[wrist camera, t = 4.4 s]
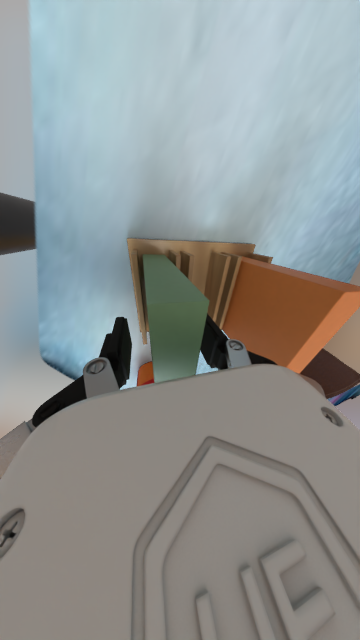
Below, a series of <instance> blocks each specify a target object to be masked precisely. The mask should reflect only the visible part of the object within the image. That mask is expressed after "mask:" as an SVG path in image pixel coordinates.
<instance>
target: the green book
mask: <svg viewBox="0 0 360 640" xmlns="http://www.w3.org/2000/svg"><path fill="white" fill-rule="evenodd" d="M143 265H144V278H145V290H146V302H147V313H148V323H149V333H150V343H151V354H152V364H153V374H154V383H157V382H162V381H167V380H172V379H177V378H182V377H187V376H192V375H195V374H196V369H197V363H198V358H199V353H200V348H201V342H202V337H203V332H204V327H205V321H206V316H207V311H208V306H209V300H208V299H207V298H206V297H205V296H204V295H203V294H202V293H201V292H200V291H199V289H198V288H197V287H196V286H195V285H194V284H193V283H192V282H191V281H190V280H189V279H188V278H187V277H186V276H185V275H184V274H183V273H182V272H181V271H180V270H179V269H178V268H177V267H176V266H175V265H174V264H173V263H172V262H171V261H170V260H169V259H168V258H167V257H166V256H165V255H154V254H143Z"/></svg>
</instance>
